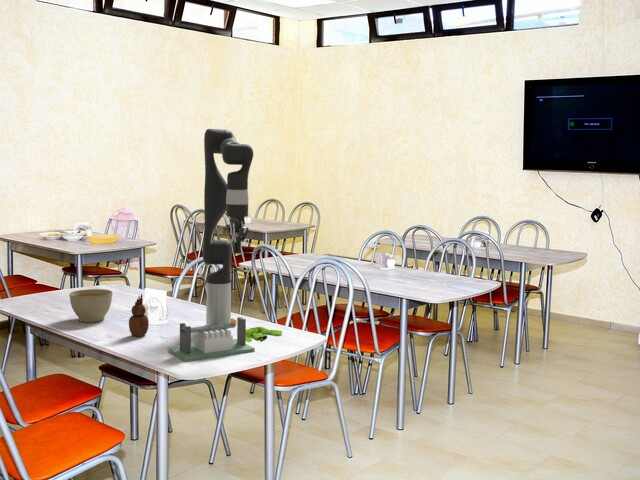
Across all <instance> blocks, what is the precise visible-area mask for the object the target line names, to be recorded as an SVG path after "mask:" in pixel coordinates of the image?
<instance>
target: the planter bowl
mask: <svg viewBox="0 0 640 480" xmlns="http://www.w3.org/2000/svg"><path fill="white" fill-rule="evenodd" d="M68 296H69V301H70V305H71V309H72V310H73V312H74V314H75V315H76V316H77V318H78V321H79V320H80V321H79V322H83V321H84V323H85V322H86V323H95V322H100V321H103V320H105V316H106V315H107V313H108V312H109V310H110V308H111V305H112V301H113V290H109V289H103V288H101V289H100V288H90V289H89V288H88V289H80V290H79V289H78V290H73V291H71V292H69V294H68Z"/></svg>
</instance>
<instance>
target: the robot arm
mask: <svg viewBox="0 0 640 480" xmlns="http://www.w3.org/2000/svg"><path fill="white" fill-rule="evenodd" d="M235 136H236V135H235V134H234V132H233V131H231V130H228V129H220V128H218V129H217V128H208V129H206V131H205V132H204V137H203V144H204V145H203V148H204V172H205V173H204V190H203V191H204V193H203V194H204V196H203V197H204V199H203V203H204V224H203V225H204V226H203V240H202V243H203V244H202V260H203V263H204V264H205V265H217V266H218V265H219V266H220V265H222V267H221V268H220V269H218V270H216V271H213V272H210V273H208V274H207V275H206V305H205V306H206V313H205V314H206V315H205V316H206V317H205V318H206V322H205V323H206V324H205V326H209V325H218V324H226V323H231V319H232V317H231V316H232V312H231V311H232V305H231V304H232V303H231V302H232V258H233V257H232V255H233V253H234V254H240V253H241V252H242V250H241V249H242V245H241V243H242V242H244V241H245V240H246V237H247V235H248V231H249V227H246V226H245V224H246V221H245V218H247V217H248V216H249V189H248V187H249V185H248V184H249V183H248V182H249V181H248V180H249V173H250V168H251V166H252V162H253V158H254V150H253V147H252V146H251V145H250V144H245V143H239V142H238V141H237V138H236V137H235ZM214 154H215V155H216V154H218V155H220V154H221V157H222V161H223V162H224V164H226V165H228V166H229V165H233V166H234V165H236V166H237V165H239V166H241V167H240V169H239V170H236V171H231V172H228V174H227V175H226V176H227V178H226V180H225V178H224V177H223V175H222V174H221V171H220V170H219V168H218V167H217V163H216V160H215V155H214ZM224 215H225V216H226V217H228V218H229V220H228V221H229V223H228V224H226V225H225V226H226V231H227V233H228V237H229V240H227V239H226V240H223V239H221V240H220V239H219V240H217V239H214V240H213V239H212V238H213V234H214V232H215V230H216V227H217V226H218V223H219V222H220V220H221V219H222V218H223V216H224ZM230 240H231V241H230Z"/></svg>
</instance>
